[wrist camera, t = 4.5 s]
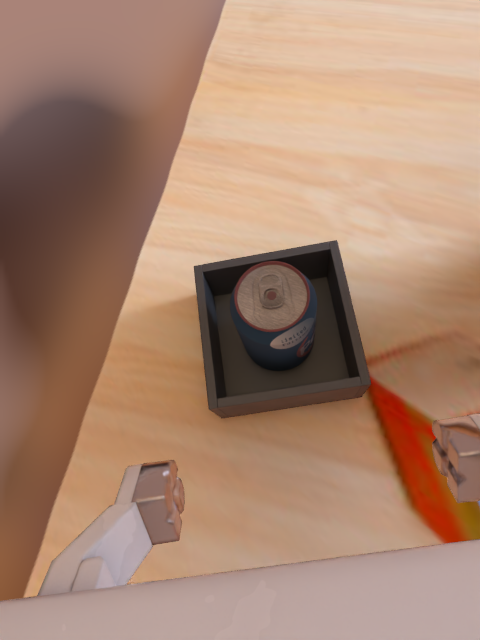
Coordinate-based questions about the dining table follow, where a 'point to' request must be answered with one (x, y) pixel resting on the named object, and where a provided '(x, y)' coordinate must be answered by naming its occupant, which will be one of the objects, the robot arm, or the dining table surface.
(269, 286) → the soda can
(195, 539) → the dining table surface
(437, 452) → the robot arm
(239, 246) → the dining table surface
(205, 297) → the tub
